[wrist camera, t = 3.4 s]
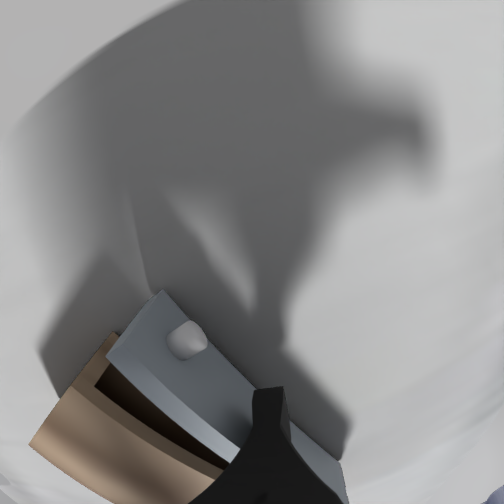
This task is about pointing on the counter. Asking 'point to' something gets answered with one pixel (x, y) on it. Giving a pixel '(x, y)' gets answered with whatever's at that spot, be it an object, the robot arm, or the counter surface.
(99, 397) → the cabinet
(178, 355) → the door
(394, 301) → the counter surface
